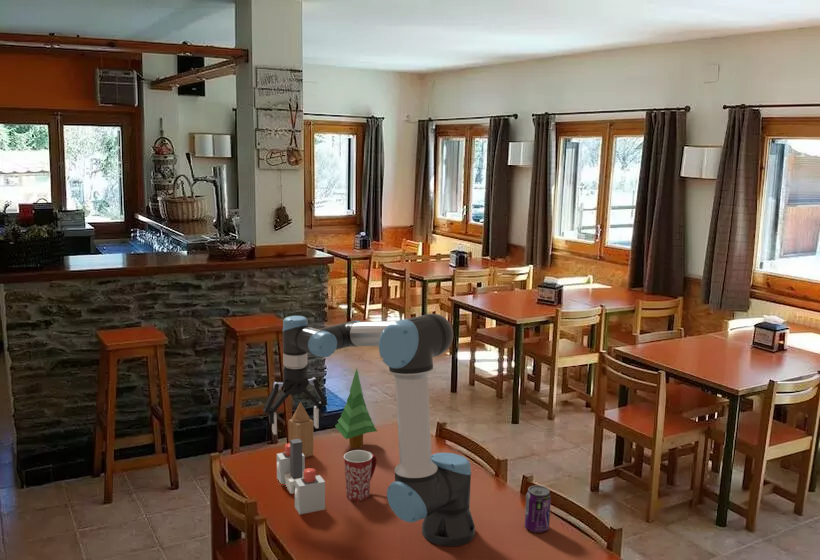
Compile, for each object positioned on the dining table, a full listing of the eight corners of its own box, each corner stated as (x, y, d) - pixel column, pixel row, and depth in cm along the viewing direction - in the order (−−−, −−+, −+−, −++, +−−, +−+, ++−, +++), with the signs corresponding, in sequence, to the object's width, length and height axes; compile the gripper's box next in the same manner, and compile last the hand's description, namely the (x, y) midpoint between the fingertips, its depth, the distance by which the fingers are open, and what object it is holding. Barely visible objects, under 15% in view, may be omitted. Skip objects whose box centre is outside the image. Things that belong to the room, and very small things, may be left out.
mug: (358, 505, 225) (358, 464, 223) (337, 496, 231) (337, 456, 229) (385, 491, 235) (386, 452, 232) (365, 482, 241) (365, 444, 238)
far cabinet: (304, 481, 241) (304, 455, 239) (280, 485, 237) (280, 459, 236) (300, 475, 245) (300, 449, 244) (276, 479, 242) (275, 453, 240)
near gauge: (317, 481, 221) (317, 472, 220) (305, 483, 219) (305, 474, 219) (313, 476, 224) (313, 467, 223) (302, 478, 222) (302, 469, 222)
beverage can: (543, 537, 209) (545, 498, 207) (520, 530, 213) (522, 491, 211) (552, 526, 215) (554, 488, 213) (530, 519, 219) (532, 482, 217)
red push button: (297, 455, 239) (297, 446, 238) (286, 457, 237) (286, 448, 237) (294, 451, 242) (294, 442, 242) (283, 452, 241) (283, 444, 240)
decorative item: (303, 449, 266) (303, 397, 262) (314, 455, 261) (313, 402, 257) (288, 454, 261) (287, 401, 258) (298, 460, 257) (298, 406, 253)
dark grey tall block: (308, 490, 234) (308, 443, 231) (290, 494, 232) (289, 446, 229) (302, 482, 240) (302, 436, 237) (284, 486, 237) (284, 439, 234)
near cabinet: (325, 509, 223) (325, 481, 221) (298, 514, 219) (298, 486, 218) (319, 502, 227) (319, 474, 225) (294, 507, 224) (293, 479, 222)
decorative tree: (382, 441, 274) (383, 364, 269) (362, 457, 260) (363, 376, 255) (350, 435, 280) (350, 359, 274) (329, 450, 266) (329, 370, 260)
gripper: (329, 358, 237) (329, 420, 241) (252, 366, 226) (253, 431, 230) (337, 364, 230) (336, 428, 234) (258, 373, 220) (259, 440, 224)
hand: (295, 430), depth 232 cm, fingers open, 13 cm apart
